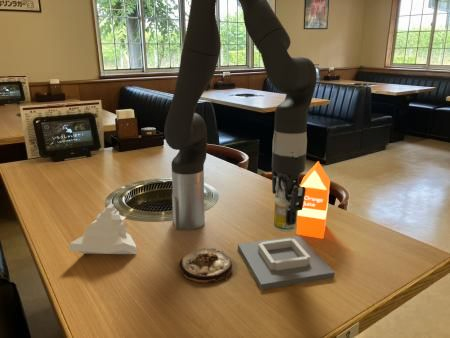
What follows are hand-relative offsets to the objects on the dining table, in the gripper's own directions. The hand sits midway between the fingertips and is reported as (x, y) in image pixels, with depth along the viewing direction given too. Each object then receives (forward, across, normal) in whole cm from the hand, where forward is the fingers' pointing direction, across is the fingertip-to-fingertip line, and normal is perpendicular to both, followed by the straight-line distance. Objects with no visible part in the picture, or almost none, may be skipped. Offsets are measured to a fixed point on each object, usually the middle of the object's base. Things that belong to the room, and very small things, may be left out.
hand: (285, 218), depth 88 cm
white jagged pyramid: (+12, -16, -42) cm, 47 cm away
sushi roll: (+13, -2, -19) cm, 23 cm away
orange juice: (+12, -14, +15) cm, 24 cm away
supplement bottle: (+3, 0, 0) cm, 3 cm away
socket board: (+12, 0, 0) cm, 12 cm away
